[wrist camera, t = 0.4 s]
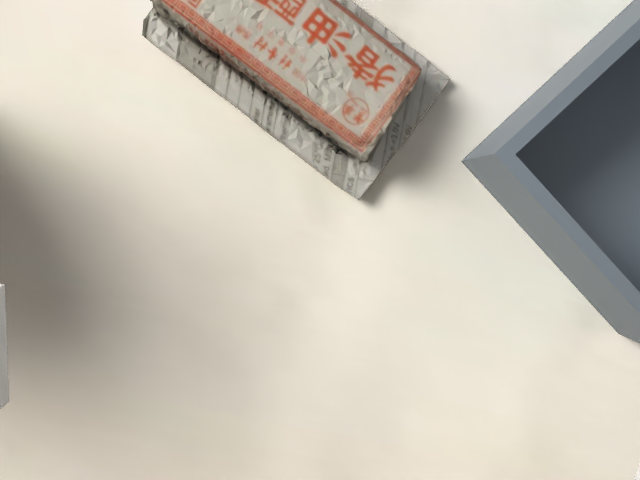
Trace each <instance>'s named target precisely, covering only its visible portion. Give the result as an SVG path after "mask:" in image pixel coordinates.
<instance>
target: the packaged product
mask: <svg viewBox="0 0 640 480" xmlns="http://www.w3.org/2000/svg"><path fill="white" fill-rule="evenodd" d="M150 1H152V2H153V8H152V10H151V11H150V12H149V14H148V15H147V17H146V18H145V19H144V21H143V33H142V35H143V36H144V37H145V38H146V39H148V40H149V41H150V42H151V43H152V44H153V45H154V46H156V47H157V48H159V49H160V50H161V51H163V52H164V53H166V54H167V55H169V56H170V57H171V58H173V59H174V60H176V61H177V62H179V63H180V64H181V65H182V66H184V67H185V68H186V69H187V70H189V71H190V72H191V73H192V74H194V75H195V76H196V77H197V78H199V79H200V80H201V81H202V82H203V83H205V84H206V85H207V86H208V87H210V88H211V89H212V90H213V91H215V92H216V93H217V94H219V95H220V96H222V97H223V98H225V99H226V100H228V101H229V102H230V103H231V104H233V105H234V106H235V107H236V108H238V109H239V110H240V111H241V112H243V113H244V114H245V115H246V116H248V117H249V118H250V119H251V120H253V121H254V122H255V123H256V124H257V125H259V126H260V127H261V128H262V129H264V130H265V131H266V132H267V133H269V134H270V135H271V136H273V137H274V138H275V139H277V140H278V141H279V142H281V143H282V144H283V145H285V146H286V147H287V148H289V149H290V150H291V151H292V152H294V153H295V154H296V155H298V156H299V157H300V158H301V159H303V160H304V161H305V162H307V163H308V164H309V165H310V166H312V167H313V168H314V169H316V170H317V171H318V172H320V173H321V174H322V175H323V176H325V177H326V178H327V179H329V180H330V181H331V182H332V183H334V184H335V185H337V186H338V187H340V188H341V189H343V190H344V191H346V192H347V193H349V194H350V195H352V196H354V197H355V198H357V199H358V200H359V199H360V198H361V197H362V196H363V195H364V193H365V192H366V191H367V190H368V189H369V187H370V186H371V185H372V184H373V182H374V181H375V180H376V178H377V177H378V175H379V174H380V173H381V171H382V170H383V169H384V167H385V166H386V164H387V163H388V162H389V160H390V159H391V157H392V156H393V155H394V154H395V152H396V151H397V150H398V149H399V148H400V146H401V145H402V144H403V143H404V142H405V140H406V139H407V138H408V136H409V135H410V134H411V132H412V131H413V130H414V129H415V127H416V126H417V125H418V123H419V122H420V121H421V119H422V118H423V117H424V115H425V114H426V113H427V111H428V110H429V109H430V107H431V106H432V104H433V103H434V101H435V100H436V98H437V97H438V96H439V94H440V93H441V91H442V90H443V88H444V87H445V86H446V84H447V83H448V81H449V80H450V78H449V77H447V76H446V75H444V74H443V73H442V72H441V71H439V70H438V69H437V68H436V67H434V66H433V65H432V64H431V63H430V62H429V61H428V60H427V59H425V58H424V57H423V56H421V55H420V54H419V53H418V52H416V51H415V50H414V49H412V48H411V47H409V46H407V45H406V44H405V43H404V42H403V41H401V40H400V39H399V38H398V37H396V36H395V35H394V34H393V33H391V32H390V31H389V30H388V29H387V28H385V27H384V26H383V25H381V24H380V23H379V22H378V21H376V20H375V19H374V18H373V17H371V16H370V15H369V14H368V13H366V12H365V11H364V10H363V9H361V8H360V7H359V6H358V5H356V4H355V3H354V2H352V1H351V0H150Z"/></svg>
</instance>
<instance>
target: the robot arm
mask: <svg viewBox="0 0 640 480" xmlns="http://www.w3.org/2000/svg"><path fill="white" fill-rule="evenodd" d="M8 402H9V385H8V358H7V330H6V303H5V284H0V409H1V408H2V407H3V406H5V405H6V404H7V403H8ZM634 480H640V464H639V467H638V470H637V473H636V476H635V479H634Z"/></svg>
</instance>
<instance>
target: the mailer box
mask: <svg viewBox="0 0 640 480" xmlns="http://www.w3.org/2000/svg"><path fill="white" fill-rule="evenodd" d="M462 162H463V164H464V165H465V166H466V167H467V168H468V169H469V170H470V171H471V172H472V173H473V175H474V176H475V177H476V178H477V179H478V180H479V181H480V182H481V183H482V184H483V185H484V187H485V188H486V189H487V190H488V191H489V192H490V193H491V194H492V195H493V196H494V198H495V199H496V200H497V201H498V202H499V203H500V204H501V205H502V206H503V207H504V209H505V210H506V211H507V212H508V213H509V214H510V215H511V216H512V217H513V218H514V220H515V221H516V222H517V223H518V224H519V225H520V226H521V227H522V228H523V229H524V230H525V232H526V233H527V234H528V235H529V236H530V237H531V238H532V239H533V240H534V241H535V243H536V244H537V245H538V246H539V247H540V248H541V249H542V250H543V251H544V252H545V254H546V255H547V256H548V257H549V258H550V259H551V260H552V261H553V262H554V263H555V265H556V266H557V267H558V268H559V269H560V270H561V271H562V272H563V273H564V274H565V275H566V277H567V278H568V279H569V280H570V281H571V282H572V283H573V284H574V285H575V286H576V288H577V289H578V290H579V291H580V292H581V293H582V294H583V295H584V296H585V297H586V299H587V300H588V301H589V302H590V303H591V304H592V305H593V306H594V307H595V308H596V310H597V311H598V312H599V313H600V314H601V315H602V316H603V317H604V318H605V319H606V320H607V322H608V323H609V324H610V325H611V326H612V327H613V328H614V329H615V330H616V331H617V333H619V334H621V335H623V336H625V337H628V338H630V339H632V340H634V341H636V342H638V343H640V0H634V1H633V2H632V3H631V4H629V5H628V6H627V7H626V8H625V9H624V10H623V11H622V12H621V13H620V14H619V15H618V16H617V17H616V18H614V19H613V20H612V21H611V22H610V23H609V24H608V25H607V26H606V27H605V28H604V29H603V30H602V31H600V32H599V33H598V34H597V35H596V36H595V37H594V38H593V39H592V40H591V41H590V42H589V43H588V44H587V45H585V46H584V47H583V48H582V49H581V50H580V51H579V52H578V53H577V54H576V55H575V56H574V57H573V58H572V59H570V60H569V61H568V62H567V63H566V64H565V65H564V66H563V67H562V68H561V69H560V70H559V71H558V72H557V73H555V74H554V75H553V76H552V77H551V78H550V79H549V80H548V81H547V82H546V83H545V84H544V85H543V86H542V87H540V88H539V89H538V90H537V91H536V92H535V93H534V94H533V95H532V96H531V97H530V98H529V99H528V100H526V101H525V102H524V103H523V104H522V105H521V106H520V107H519V108H518V109H517V110H516V111H515V112H514V113H513V114H511V115H510V116H509V117H508V118H507V119H506V120H505V121H504V122H503V123H502V124H501V125H500V126H499V127H498V128H496V129H495V130H494V131H493V132H492V133H491V134H490V135H489V136H488V137H487V138H486V139H485V140H484V141H483V142H481V143H480V144H479V145H478V146H477V147H476V148H475V149H474V150H473V151H472V152H471V153H470V154H469V155H468V156H466V157H465V158H464V159H463V160H462Z"/></svg>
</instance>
